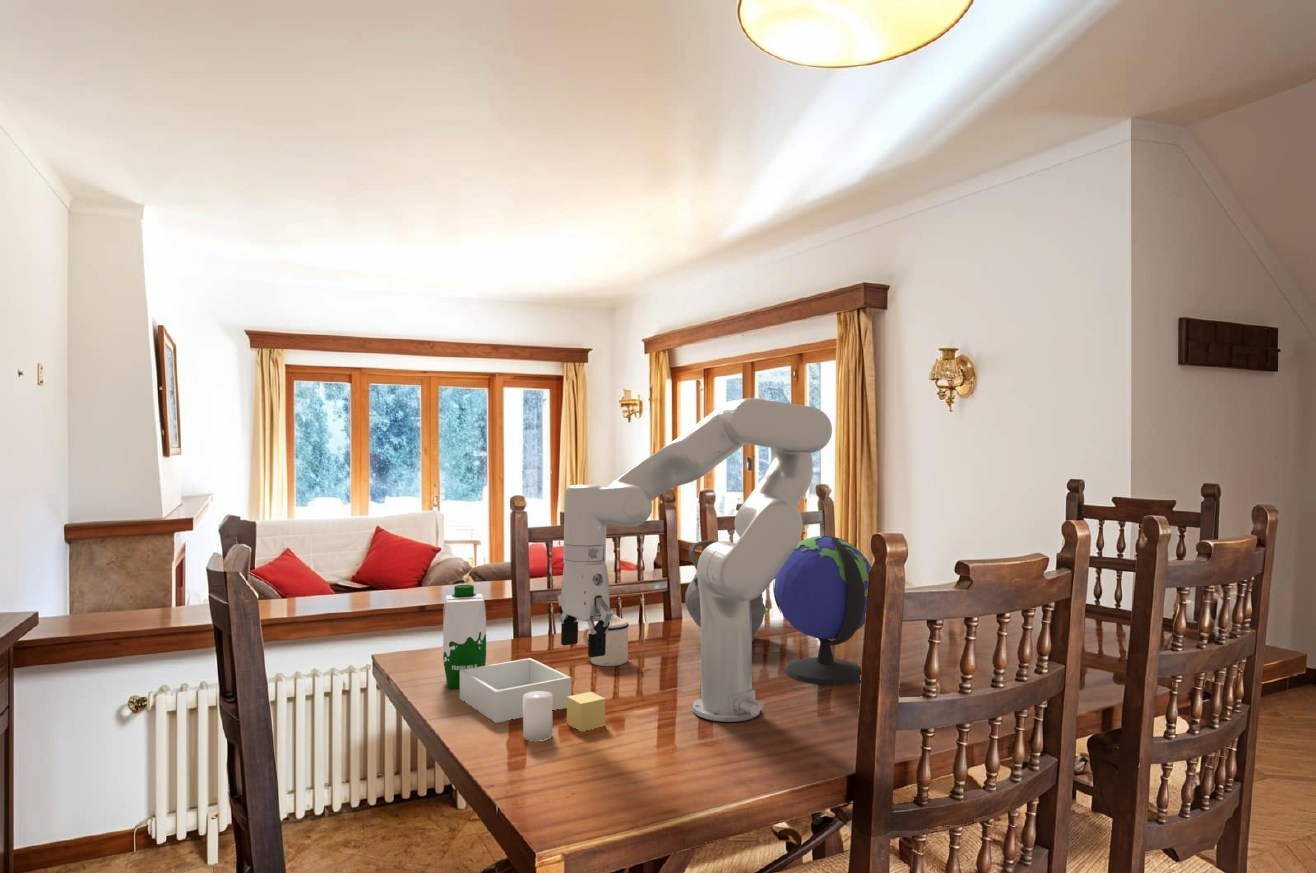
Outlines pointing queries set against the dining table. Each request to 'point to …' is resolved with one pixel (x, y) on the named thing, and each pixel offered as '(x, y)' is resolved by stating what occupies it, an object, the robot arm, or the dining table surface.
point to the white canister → (537, 715)
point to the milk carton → (463, 633)
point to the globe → (824, 604)
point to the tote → (511, 687)
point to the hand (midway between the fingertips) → (582, 650)
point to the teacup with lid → (613, 643)
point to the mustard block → (586, 711)
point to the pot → (694, 596)
